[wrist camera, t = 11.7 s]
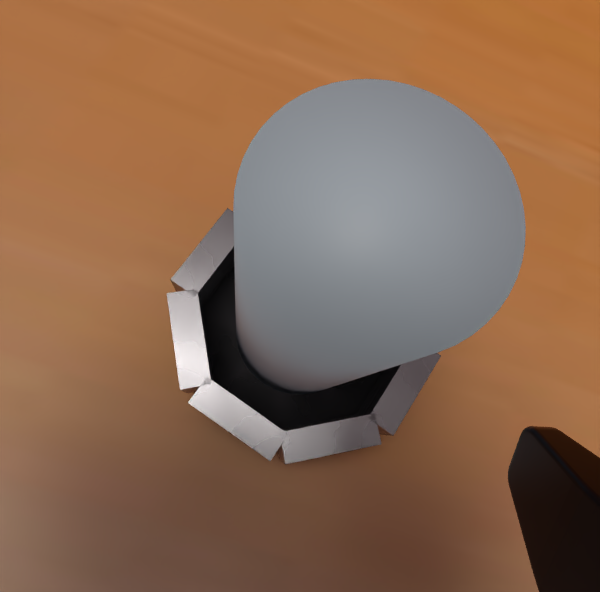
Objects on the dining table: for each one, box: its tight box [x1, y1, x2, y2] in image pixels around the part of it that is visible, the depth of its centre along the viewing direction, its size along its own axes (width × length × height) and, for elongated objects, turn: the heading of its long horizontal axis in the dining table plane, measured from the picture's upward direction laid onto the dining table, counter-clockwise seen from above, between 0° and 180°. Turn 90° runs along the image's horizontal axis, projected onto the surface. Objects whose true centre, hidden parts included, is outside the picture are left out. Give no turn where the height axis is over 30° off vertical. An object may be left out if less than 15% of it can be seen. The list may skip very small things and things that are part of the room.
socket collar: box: [167, 208, 441, 464], centre depth 19 cm, size 9×9×4 cm
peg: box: [233, 79, 525, 394], centre depth 14 cm, size 5×5×12 cm
